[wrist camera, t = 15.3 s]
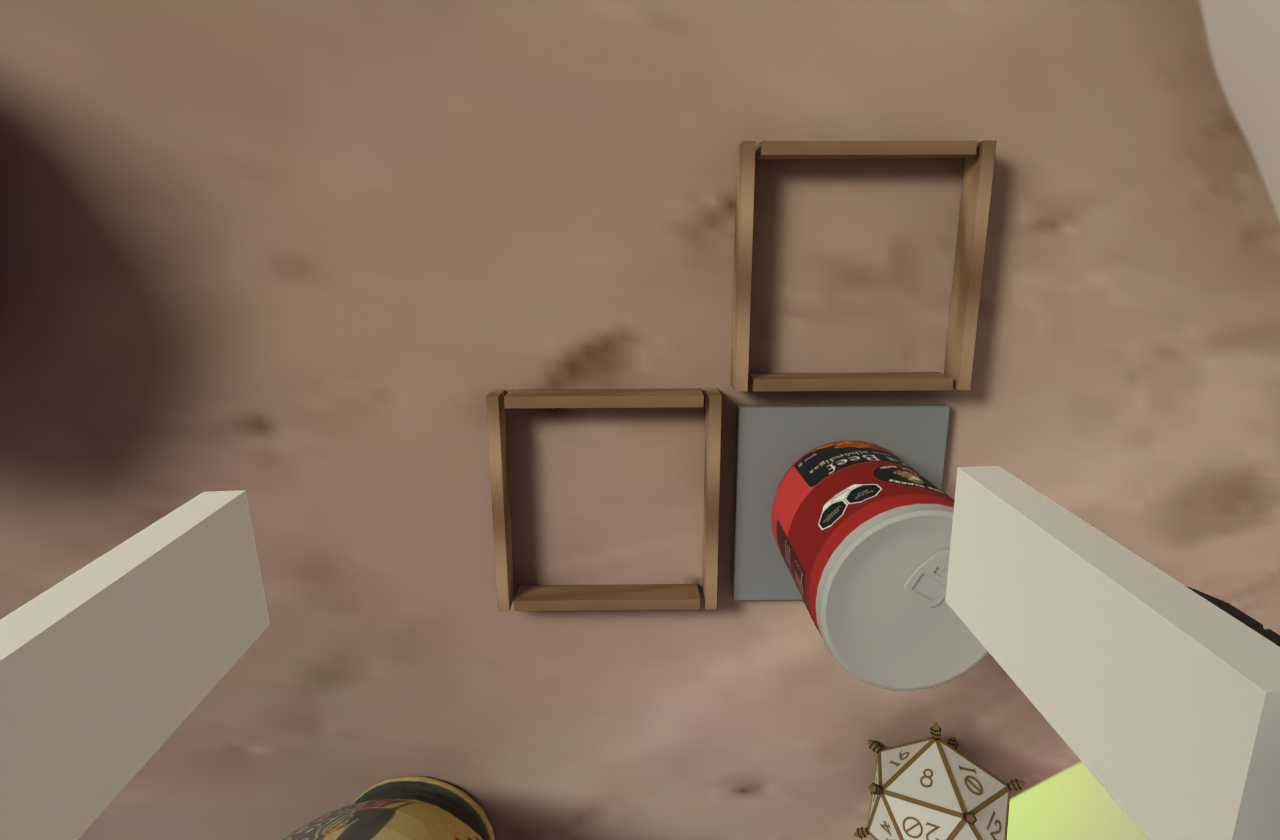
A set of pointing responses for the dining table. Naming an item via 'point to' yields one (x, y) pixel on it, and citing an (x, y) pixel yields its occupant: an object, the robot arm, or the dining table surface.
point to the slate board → (783, 438)
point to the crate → (602, 594)
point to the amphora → (403, 814)
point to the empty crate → (965, 268)
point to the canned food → (874, 564)
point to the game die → (935, 794)
